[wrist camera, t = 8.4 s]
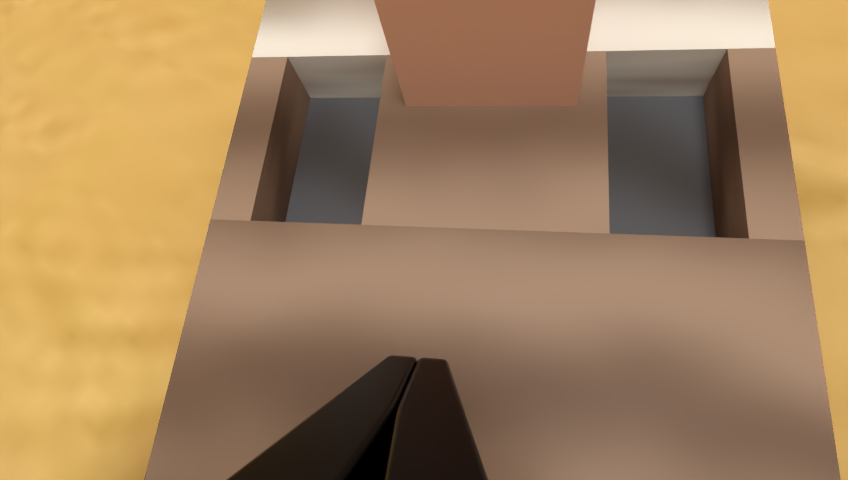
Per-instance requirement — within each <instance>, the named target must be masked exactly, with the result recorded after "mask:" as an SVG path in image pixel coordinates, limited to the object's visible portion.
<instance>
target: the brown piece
mask: <svg viewBox="0 0 848 480" xmlns="http://www.w3.org/2000/svg"><path fill="white" fill-rule="evenodd" d="M390 355H398V356H410V357H415V358H416V359H417V360H419V359H420V358H437V359H445V360H447V362H448V363H449V366H450V369H451V372H452V375H453V378H454V381H455V384H456V387H457V390H458V393H459V396H460V399H461V401H462V404H463V407H464V410H465V413H466V416H467V419H468V422H469V425H470V428H471V431H472V434H473V437H474V440H475V443H476V445H477V448H478V451H479V454H480V457H481V460H482V463H483V466H484V469H485V472H486V475H487V478H488V480H840V473H839V467H838V460H837V453H836V447H835V440H834V433H833V427H832V420H831V414H830V407H829V400H828V394H827V387H826V380H825V374H824V367H823V361H822V354H821V347H820V341H819V334H818V327H817V321H816V314H815V308H814V301H813V294H812V288H811V281H810V274H809V268H808V261H807V255H806V248H805V241H804V235H803V228H802V221H801V215H800V208H799V202H798V195H797V188H796V182H795V175H794V169H793V162H792V155H791V149H790V142H789V135H788V129H787V122H786V116H785V109H784V102H783V96H782V89H781V82H780V76H779V69H778V63H777V56H776V49H775V43H774V36H773V29H772V23H771V16H770V10H769V3H768V0H596V2H595V7H594V13H593V19H592V24H591V30H590V35H589V41H588V47H587V52H586V58H585V64H584V69H583V75H582V81H581V86H580V92H579V97H578V103H577V106H406V105H405V102H404V98H403V95H402V92H401V88H400V85H399V82H398V78H397V75H396V72H395V68H394V65H393V62H392V58H391V55H390V52H389V49H388V45H387V42H386V39H385V35H384V32H383V29H382V25H381V22H380V19H379V15H378V12H377V9H376V5H375V2H374V0H266V4H265V8H264V12H263V16H262V20H261V24H260V28H259V31H258V35H257V39H256V43H255V47H254V51H253V55H252V59H251V63H250V67H249V71H248V75H247V79H246V83H245V86H244V90H243V94H242V98H241V102H240V106H239V110H238V114H237V118H236V122H235V126H234V130H233V134H232V138H231V141H230V145H229V149H228V153H227V157H226V161H225V165H224V169H223V173H222V177H221V181H220V185H219V189H218V193H217V196H216V200H215V204H214V208H213V212H212V216H211V220H210V224H209V228H208V232H207V236H206V240H205V244H204V248H203V252H202V255H201V259H200V263H199V267H198V271H197V275H196V279H195V283H194V287H193V291H192V295H191V299H190V303H189V307H188V310H187V314H186V318H185V322H184V326H183V330H182V334H181V338H180V342H179V346H178V350H177V354H176V358H175V362H174V365H173V369H172V373H171V377H170V381H169V385H168V389H167V393H166V397H165V401H164V405H163V409H162V413H161V417H160V420H159V424H158V428H157V432H156V436H155V440H154V444H153V448H152V452H151V456H150V460H149V464H148V468H147V472H146V475H145V479H144V480H226V479H227V478H229V477H230V476H231V475H233V474H234V473H235V472H237V471H238V470H239V469H241V468H242V467H243V466H245V465H246V464H247V463H248V462H250V461H251V460H252V459H254V458H255V457H256V456H258V455H259V454H260V453H262V452H263V451H264V450H266V449H267V448H268V447H269V446H271V445H272V444H273V443H275V442H276V441H277V440H279V439H280V438H281V437H283V436H284V435H285V434H287V433H288V432H289V431H291V430H292V429H293V428H294V427H296V426H297V425H298V424H300V423H301V422H302V421H304V420H305V419H306V418H308V417H309V416H310V415H312V414H313V413H314V412H315V411H317V410H318V409H319V408H321V407H322V406H323V405H325V404H326V403H327V402H329V401H330V400H331V399H333V398H334V397H335V396H336V395H338V394H339V393H340V392H342V391H343V390H344V389H346V388H347V387H348V386H350V385H351V384H352V383H354V382H355V381H356V380H358V379H359V378H360V377H361V376H363V375H364V374H365V373H367V372H368V371H369V370H371V369H372V368H373V367H375V366H376V365H377V364H379V363H380V362H381V361H382V360H384V359H385V358H386V357H388V356H390Z"/></svg>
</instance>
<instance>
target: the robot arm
mask: <svg viewBox="0 0 848 480" xmlns="http://www.w3.org/2000/svg"><path fill="white" fill-rule="evenodd" d="M226 480H488V478H487V475H486V472H485V469H484V466H483V463H482V460H481V457H480V454H479V451H478V448H477V445H476V443H475V440H474V437H473V434H472V431H471V428H470V425H469V422H468V419H467V416H466V413H465V410H464V407H463V404H462V401H461V399H460V396H459V393H458V390H457V387H456V384H455V381H454V378H453V375H452V372H451V369H450V366H449V363H448V362H447V360H445V359H437V358H420V359H419V360H417V359H416V358H415V357H410V356H398V355H390V356H388V357H386V358H385V359H384V360H382V361H381V362H380V363H379V364H377V365H376V366H375V367H373V368H372V369H371V370H369V371H368V372H367V373H365V374H364V375H363V376H361V377H360V378H359V379H358V380H356V381H355V382H354V383H352V384H351V385H350V386H348V387H347V388H346V389H344V390H343V391H342V392H340V393H339V394H338V395H336V396H335V397H334V398H333V399H331V400H330V401H329V402H327V403H326V404H325V405H323V406H322V407H321V408H319V409H318V410H317V411H315V412H314V413H313V414H312V415H310V416H309V417H308V418H306V419H305V420H304V421H302V422H301V423H300V424H298V425H297V426H296V427H294V428H293V429H292V430H291V431H289V432H288V433H287V434H285V435H284V436H283V437H281V438H280V439H279V440H277V441H276V442H275V443H273V444H272V445H271V446H269V447H268V448H267V449H266V450H264V451H263V452H262V453H260V454H259V455H258V456H256V457H255V458H254V459H252V460H251V461H250V462H248V463H247V464H246V465H245V466H243V467H242V468H241V469H239V470H238V471H237V472H235V473H234V474H233V475H231V476H230V477H229V478H227V479H226Z"/></svg>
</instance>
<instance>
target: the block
mask: <svg viewBox="0 0 848 480" xmlns="http://www.w3.org/2000/svg"><path fill="white" fill-rule="evenodd" d="M374 2H375V5H376V9H377V12H378V15H379V19H380V22H381V25H382V29H383V32H384V35H385V39H386V42H387V45H388V49H389V52H390V55H391V58H392V62H393V65H394V68H395V72H396V75H397V78H398V82H399V85H400V88H401V92H402V95H403V98H404V102H405V105H406V106H577V103H578V97H579V92H580V86H581V81H582V75H583V69H584V64H585V58H586V52H587V47H588V41H589V35H590V30H591V24H592V19H593V13H594V7H595V2H596V0H374Z"/></svg>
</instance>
